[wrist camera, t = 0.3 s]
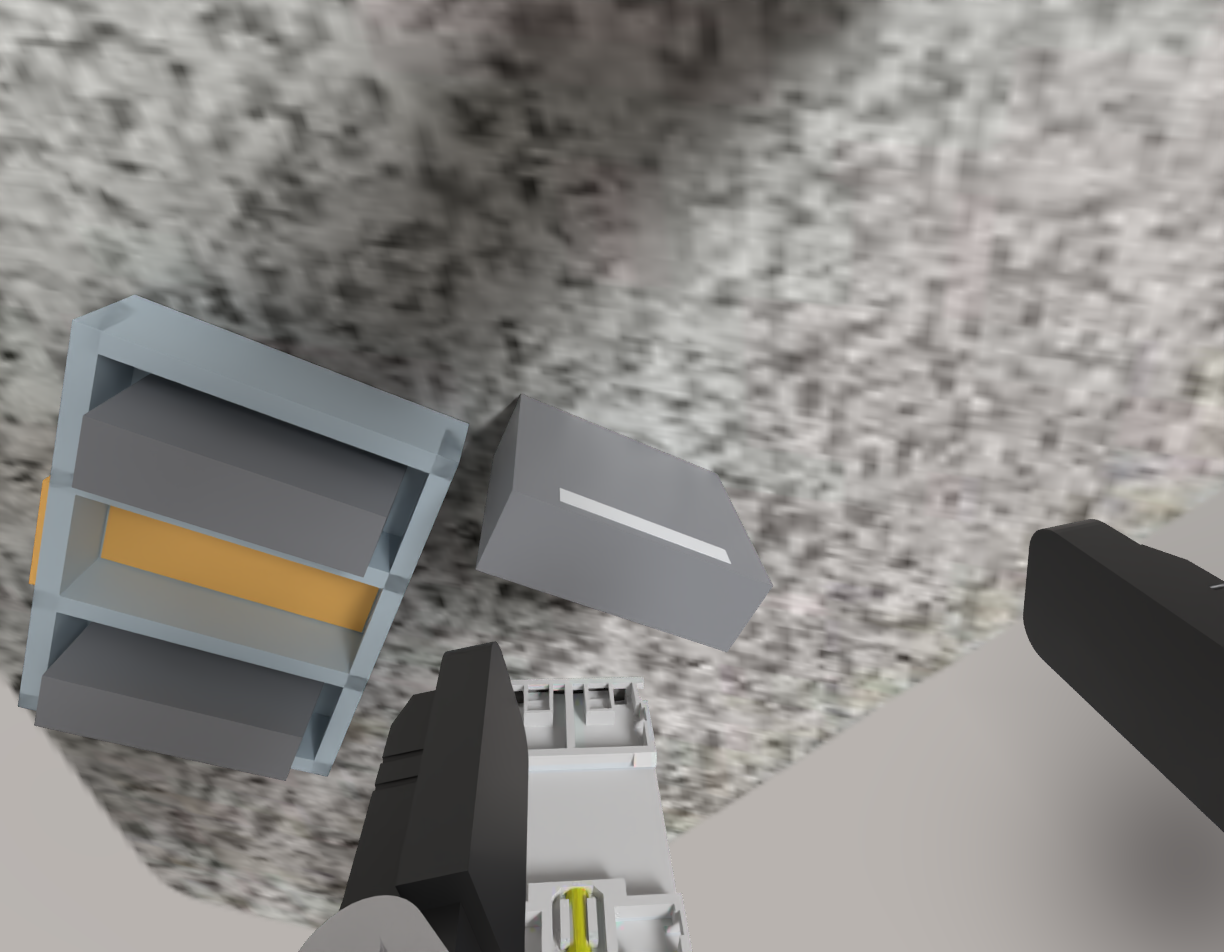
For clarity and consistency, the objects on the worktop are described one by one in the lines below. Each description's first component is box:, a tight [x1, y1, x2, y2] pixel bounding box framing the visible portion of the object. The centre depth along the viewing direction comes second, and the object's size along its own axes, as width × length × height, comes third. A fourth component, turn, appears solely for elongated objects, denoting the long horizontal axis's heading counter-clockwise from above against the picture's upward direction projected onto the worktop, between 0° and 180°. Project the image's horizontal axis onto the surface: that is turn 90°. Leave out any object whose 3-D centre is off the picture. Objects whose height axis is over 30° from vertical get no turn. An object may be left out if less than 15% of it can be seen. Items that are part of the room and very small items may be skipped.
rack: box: [18, 295, 469, 781], centre depth 26 cm, size 17×12×6 cm
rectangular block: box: [475, 394, 773, 652], centre depth 25 cm, size 3×9×8 cm, turn 64°
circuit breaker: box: [511, 677, 693, 952], centre depth 30 cm, size 8×14×15 cm, turn 177°
